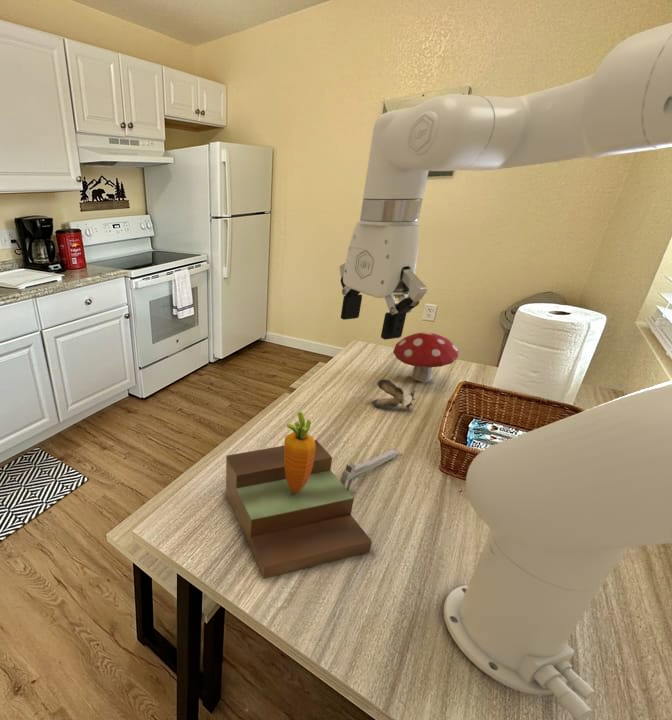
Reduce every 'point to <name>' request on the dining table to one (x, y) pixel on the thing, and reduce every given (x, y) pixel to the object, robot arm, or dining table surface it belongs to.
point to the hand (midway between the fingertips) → (368, 327)
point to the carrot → (299, 454)
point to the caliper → (364, 468)
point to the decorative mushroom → (425, 353)
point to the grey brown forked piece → (395, 392)
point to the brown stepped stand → (292, 512)
